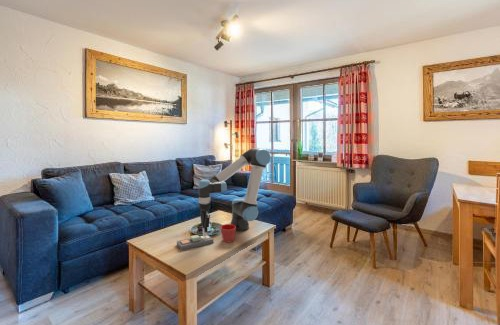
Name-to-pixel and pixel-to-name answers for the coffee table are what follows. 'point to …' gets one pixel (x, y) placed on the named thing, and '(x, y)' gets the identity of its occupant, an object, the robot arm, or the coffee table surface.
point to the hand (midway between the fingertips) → (205, 236)
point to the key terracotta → (184, 242)
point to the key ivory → (204, 238)
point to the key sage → (195, 238)
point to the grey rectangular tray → (194, 243)
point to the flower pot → (228, 232)
